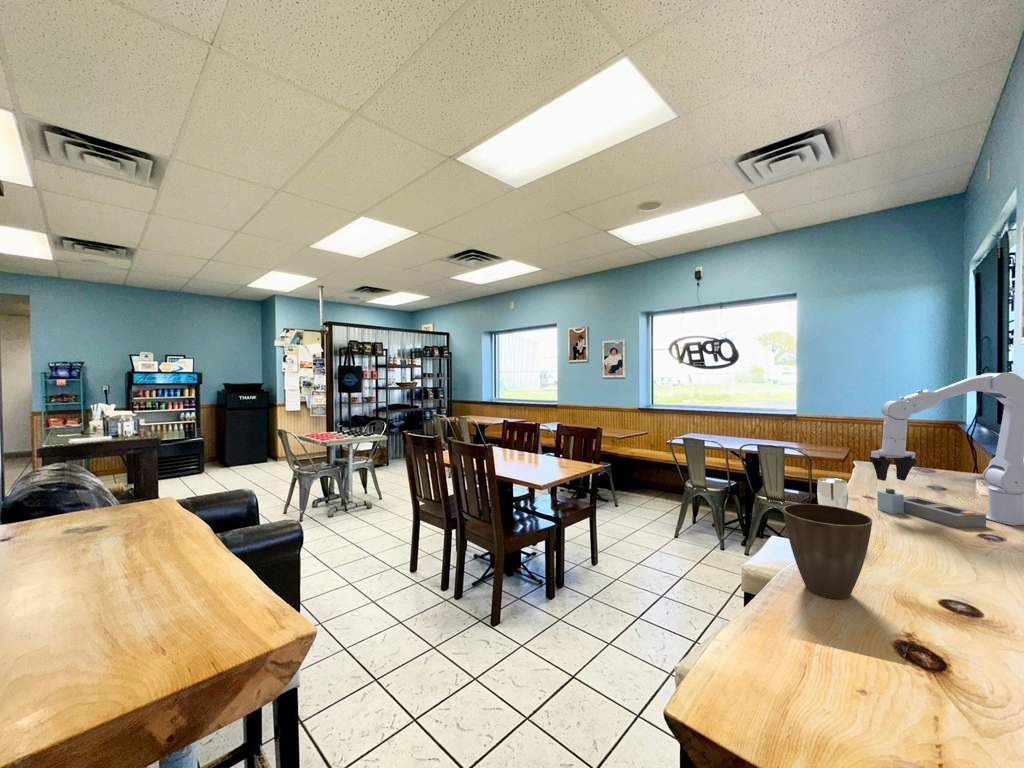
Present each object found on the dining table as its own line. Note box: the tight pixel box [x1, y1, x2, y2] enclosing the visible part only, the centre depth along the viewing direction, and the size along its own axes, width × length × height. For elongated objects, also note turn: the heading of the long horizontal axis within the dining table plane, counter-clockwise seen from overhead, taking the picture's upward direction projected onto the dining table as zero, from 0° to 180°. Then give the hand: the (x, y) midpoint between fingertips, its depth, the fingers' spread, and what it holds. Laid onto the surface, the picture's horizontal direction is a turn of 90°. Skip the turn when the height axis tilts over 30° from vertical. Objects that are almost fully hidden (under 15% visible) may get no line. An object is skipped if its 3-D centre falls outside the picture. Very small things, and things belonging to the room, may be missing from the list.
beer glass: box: [816, 477, 849, 509], centre depth 121 cm, size 7×7×15 cm
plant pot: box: [782, 503, 873, 600], centre depth 89 cm, size 15×15×16 cm
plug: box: [876, 487, 905, 515], centre depth 139 cm, size 4×5×7 cm
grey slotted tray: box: [904, 495, 987, 529], centre depth 133 cm, size 9×20×4 cm, turn 6°
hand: (891, 479), depth 139 cm, fingers open, 7 cm apart
